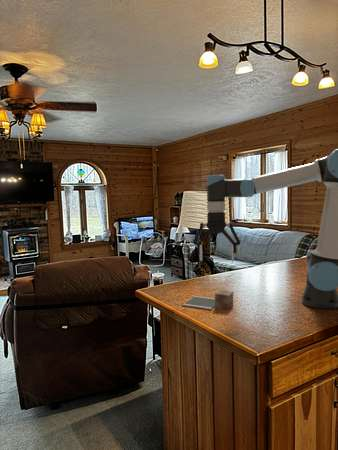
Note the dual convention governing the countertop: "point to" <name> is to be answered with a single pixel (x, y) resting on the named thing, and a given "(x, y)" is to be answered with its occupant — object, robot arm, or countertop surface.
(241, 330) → the countertop surface
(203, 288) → the countertop surface
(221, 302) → the walnut block
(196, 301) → the tray
